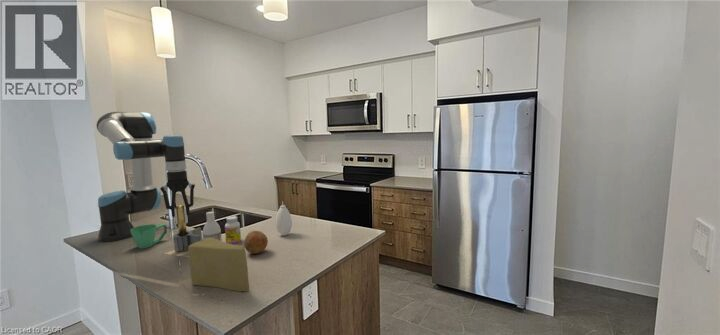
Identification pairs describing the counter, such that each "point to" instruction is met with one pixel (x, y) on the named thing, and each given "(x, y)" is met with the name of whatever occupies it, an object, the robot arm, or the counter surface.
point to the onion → (255, 242)
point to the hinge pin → (181, 220)
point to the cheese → (218, 265)
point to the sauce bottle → (283, 220)
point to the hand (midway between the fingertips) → (181, 222)
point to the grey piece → (186, 239)
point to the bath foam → (211, 228)
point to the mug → (147, 235)
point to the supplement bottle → (232, 230)
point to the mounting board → (177, 253)
